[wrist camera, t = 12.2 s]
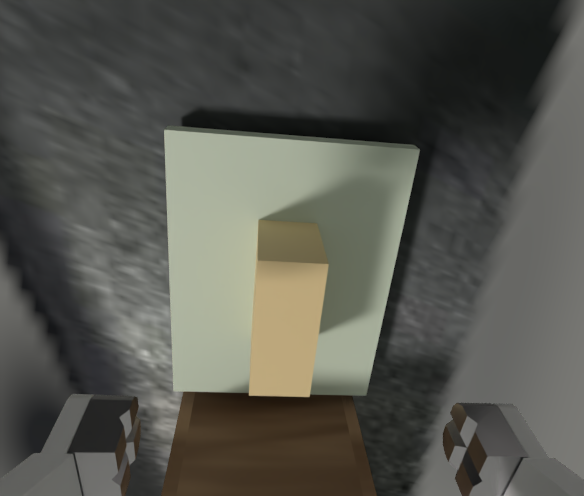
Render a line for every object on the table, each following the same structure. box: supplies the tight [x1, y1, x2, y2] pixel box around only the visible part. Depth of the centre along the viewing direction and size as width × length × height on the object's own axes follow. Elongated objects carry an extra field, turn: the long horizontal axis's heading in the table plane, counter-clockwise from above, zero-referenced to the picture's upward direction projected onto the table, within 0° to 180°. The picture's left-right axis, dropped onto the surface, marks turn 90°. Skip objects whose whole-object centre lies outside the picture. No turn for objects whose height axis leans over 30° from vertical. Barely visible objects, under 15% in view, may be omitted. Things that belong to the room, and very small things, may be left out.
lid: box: [164, 125, 420, 397], centre depth 18 cm, size 13×10×5 cm
